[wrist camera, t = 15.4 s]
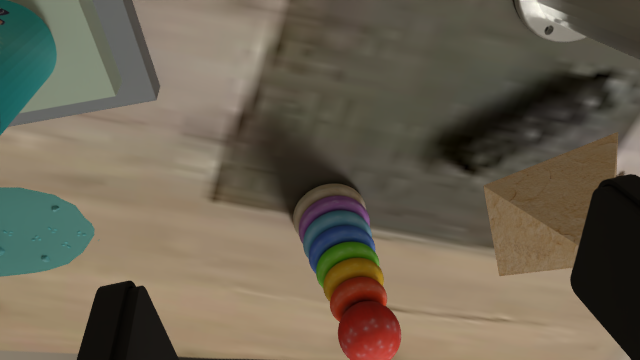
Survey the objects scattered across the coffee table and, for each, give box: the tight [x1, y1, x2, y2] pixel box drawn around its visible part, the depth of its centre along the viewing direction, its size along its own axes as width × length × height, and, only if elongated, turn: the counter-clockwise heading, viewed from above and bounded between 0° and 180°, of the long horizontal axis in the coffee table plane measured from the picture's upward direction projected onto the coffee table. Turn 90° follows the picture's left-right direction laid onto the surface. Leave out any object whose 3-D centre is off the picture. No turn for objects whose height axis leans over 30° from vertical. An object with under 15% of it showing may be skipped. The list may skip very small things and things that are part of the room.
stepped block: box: [8, 0, 160, 127], centre depth 33 cm, size 14×14×6 cm
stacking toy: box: [293, 183, 401, 360], centre depth 43 cm, size 8×8×19 cm
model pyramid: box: [484, 132, 618, 276], centre depth 54 cm, size 17×17×10 cm
